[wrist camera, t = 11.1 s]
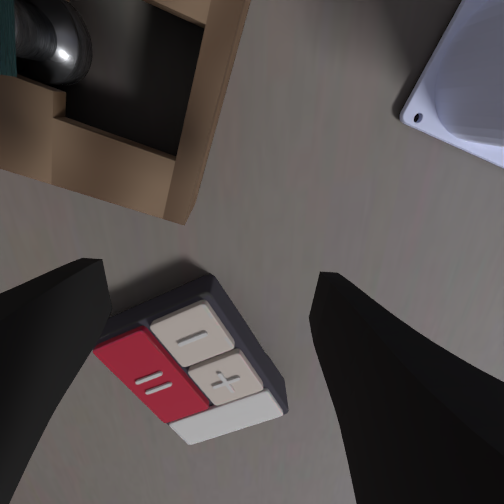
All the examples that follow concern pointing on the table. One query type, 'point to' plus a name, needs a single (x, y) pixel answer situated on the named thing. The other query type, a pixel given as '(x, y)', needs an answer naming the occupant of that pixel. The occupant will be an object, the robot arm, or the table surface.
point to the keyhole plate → (118, 148)
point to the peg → (43, 41)
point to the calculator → (194, 362)
